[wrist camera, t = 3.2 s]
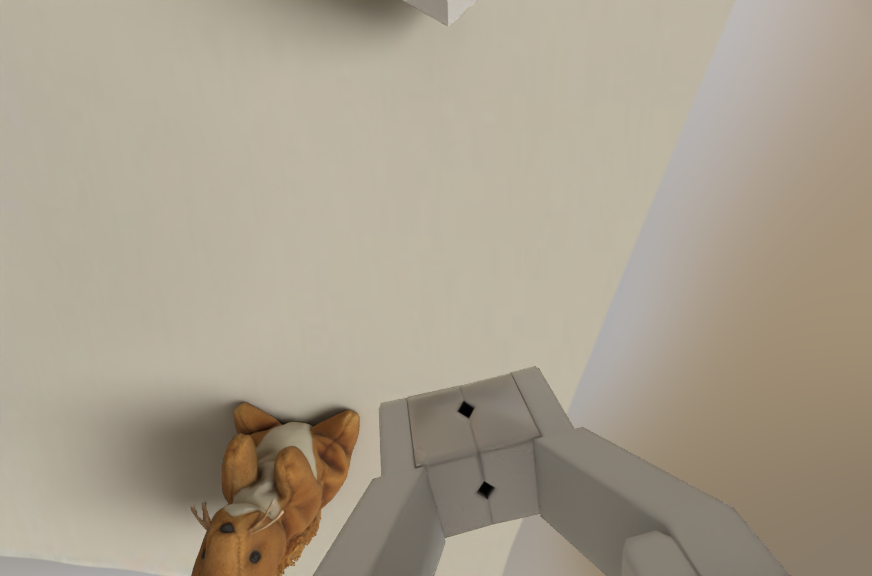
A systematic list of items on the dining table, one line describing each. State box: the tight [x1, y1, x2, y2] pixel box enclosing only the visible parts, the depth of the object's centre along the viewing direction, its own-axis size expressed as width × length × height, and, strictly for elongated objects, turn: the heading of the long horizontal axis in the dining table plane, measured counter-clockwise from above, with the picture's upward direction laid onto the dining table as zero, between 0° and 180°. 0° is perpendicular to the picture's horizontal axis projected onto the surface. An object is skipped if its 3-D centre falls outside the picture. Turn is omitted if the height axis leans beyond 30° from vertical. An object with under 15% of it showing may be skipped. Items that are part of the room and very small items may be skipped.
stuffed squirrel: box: [191, 402, 360, 576], centre depth 31 cm, size 10×14×13 cm
